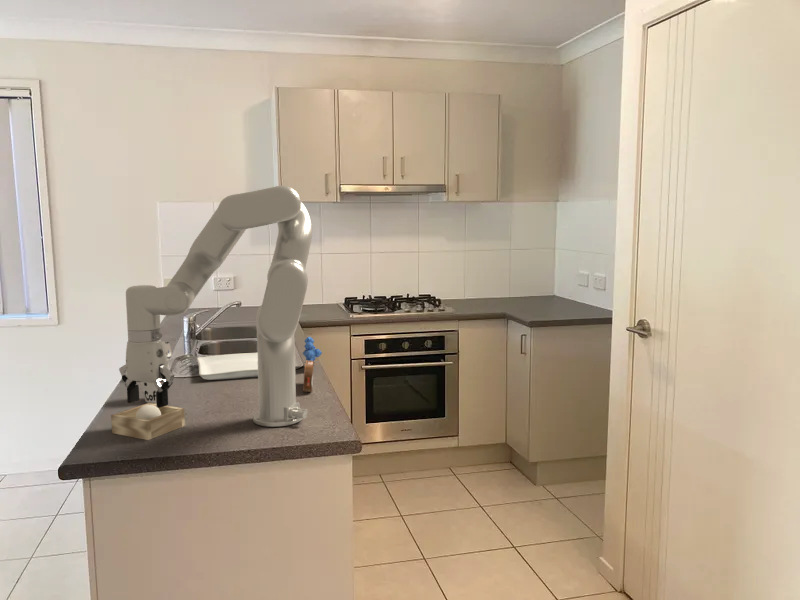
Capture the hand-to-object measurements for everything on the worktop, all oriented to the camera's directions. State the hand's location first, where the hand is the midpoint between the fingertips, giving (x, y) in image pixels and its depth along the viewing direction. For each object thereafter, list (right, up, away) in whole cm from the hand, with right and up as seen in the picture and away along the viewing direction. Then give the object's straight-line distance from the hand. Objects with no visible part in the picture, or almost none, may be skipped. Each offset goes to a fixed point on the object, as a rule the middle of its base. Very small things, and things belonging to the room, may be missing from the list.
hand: (147, 403), depth 162 cm
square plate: (+7, +1, +63) cm, 64 cm away
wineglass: (-15, 0, +52) cm, 54 cm away
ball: (0, -3, 0) cm, 3 cm away
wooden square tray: (0, -6, +1) cm, 6 cm away
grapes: (+32, +1, +65) cm, 72 cm away
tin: (+34, -2, +39) cm, 53 cm away
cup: (-8, -4, +27) cm, 28 cm away
